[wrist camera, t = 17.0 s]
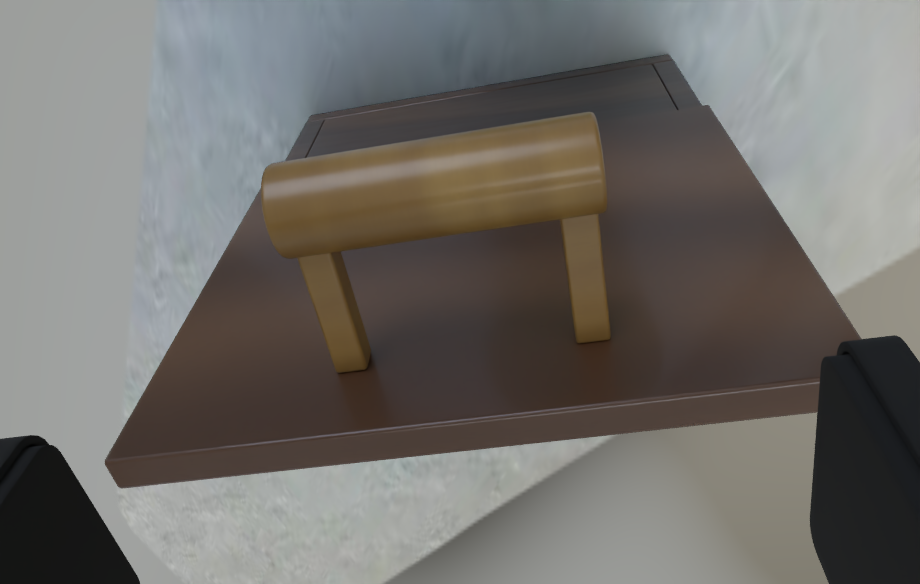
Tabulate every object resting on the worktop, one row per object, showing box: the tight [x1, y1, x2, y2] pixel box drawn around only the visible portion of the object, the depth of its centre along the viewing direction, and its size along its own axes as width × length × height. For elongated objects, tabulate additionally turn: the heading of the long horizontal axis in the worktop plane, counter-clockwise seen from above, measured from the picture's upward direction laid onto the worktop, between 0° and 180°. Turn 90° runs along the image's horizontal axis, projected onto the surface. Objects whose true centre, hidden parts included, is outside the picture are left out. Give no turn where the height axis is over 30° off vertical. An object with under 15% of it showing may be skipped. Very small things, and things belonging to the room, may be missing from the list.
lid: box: [105, 105, 861, 488], centre depth 19 cm, size 13×15×5 cm
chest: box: [285, 55, 702, 161], centre depth 32 cm, size 13×15×6 cm
